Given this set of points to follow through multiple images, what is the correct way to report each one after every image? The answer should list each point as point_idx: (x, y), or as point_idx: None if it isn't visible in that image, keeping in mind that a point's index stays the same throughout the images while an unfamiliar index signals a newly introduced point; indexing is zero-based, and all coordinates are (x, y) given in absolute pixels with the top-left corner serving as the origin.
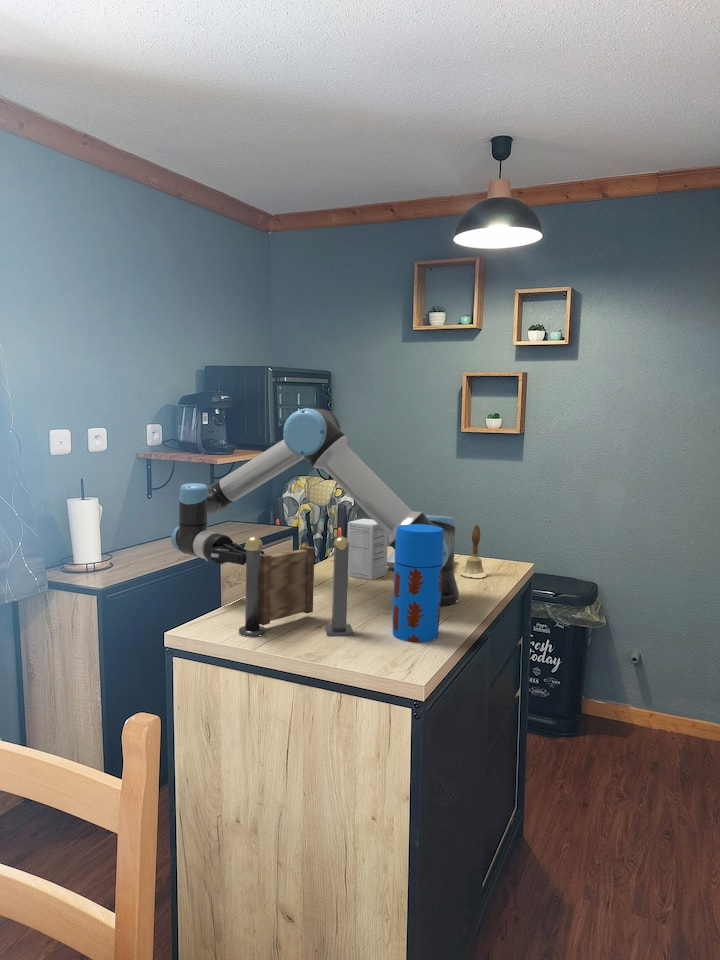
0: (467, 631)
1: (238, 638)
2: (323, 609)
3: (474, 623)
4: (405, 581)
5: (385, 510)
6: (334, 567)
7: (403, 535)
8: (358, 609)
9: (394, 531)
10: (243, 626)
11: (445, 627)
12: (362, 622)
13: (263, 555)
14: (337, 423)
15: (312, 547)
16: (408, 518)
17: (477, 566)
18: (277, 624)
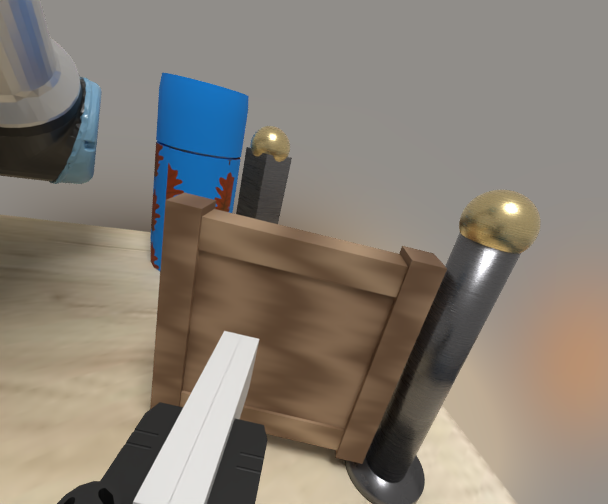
0: (141, 232)
1: (435, 469)
2: (43, 418)
3: (96, 226)
4: (236, 183)
5: (43, 12)
6: (273, 206)
7: (245, 105)
8: (25, 343)
9: (56, 86)
10: (396, 502)
11: (132, 243)
12: (153, 315)
13: (429, 257)
14: None
15: (185, 194)
16: (52, 44)
17: None
18: (277, 453)
